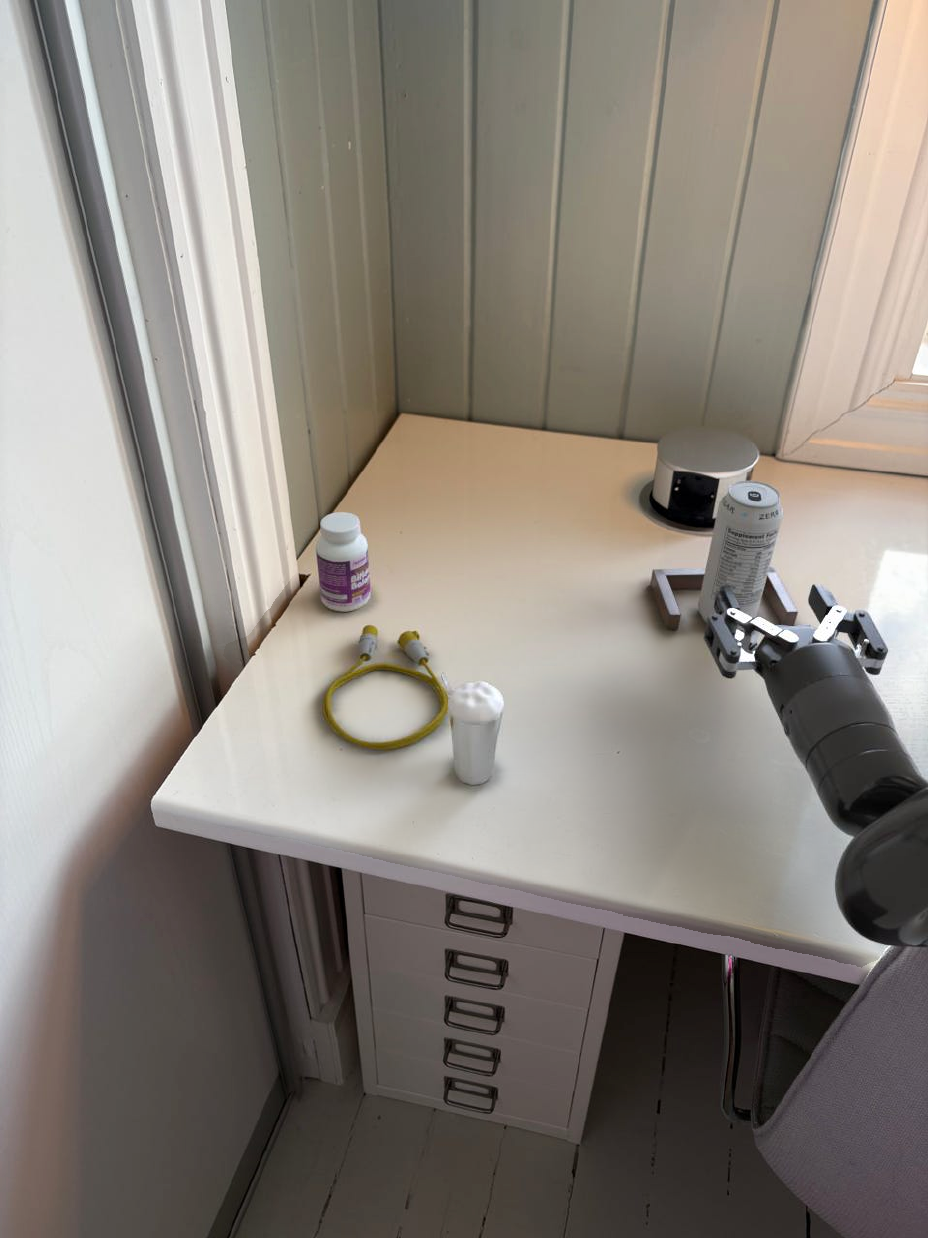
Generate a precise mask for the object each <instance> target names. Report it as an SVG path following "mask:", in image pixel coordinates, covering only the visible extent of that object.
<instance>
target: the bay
mask: <svg viewBox="0 0 928 1238" xmlns="http://www.w3.org/2000/svg"><path fill="white" fill-rule="evenodd" d="M705 569H706V567H704V568H664V569H661V568H660V569H652V572H651V578H650V584H649V585H650V587H651V590H652V592H653V595H654V598H655V600H656V604H657V607H658V609H659V612H660V614H661V617H662V620H663V623H664V625H665V628H666V631H678V630H679V627H680V623H681V622H680V621H681V617H682V614H681V611H680V608H679V607H678V604H677V600H676V599H675V596H674V593H673V591H678V590H680V591H681V590H682V591H683V590H684V591H685V590H701V588H702V584H703V579H704V574H705ZM763 593H764V594H765V595H766V597H767V599H768V601H769V603H770V605H771V607H772V609H773V611H774V613H775V615H776V617H777V619H778V620H779V622H780V625H786V626H795V624H796V621H797V618H798V614H799V610H798V609H797V607H796V606H795V604H794V602H793V600H792V598H791V597H790V595H789V593H788V591H787V589H786V588H785V586H784V583H783V582H782V581H781V579H780V577H779V574H778V573H777V571H776V569H775V568H774V567H773V566H770V567H769V570H768V574H767V578H766V582H765V586H764V590H763Z"/></svg>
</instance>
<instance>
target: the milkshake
mask: <svg viewBox="0 0 928 1238" xmlns="http://www.w3.org/2000/svg"><path fill="white" fill-rule="evenodd" d="M440 677H441V679H442V682H443V684H444V687H445V690H446V692H447V694H448V698H449V699H448V716H449V717H448V718H449V723H450V724H449V725H450V731H451V733H450V734H451V743H452V752H453V753H452V754H453V755H452V756H453V765H454V773H455V775H456V776H457V778H458V779H459V781H460V782H462V783H464V784H468V785H470V786H475V785H477V786H478V785H483V784H485V783H486V782H487V781H489V780H491V778H492V777H493V770H494V764H495V757H496V750H497V743H498V737H499V732H500V728H501V724H502V718H503V713H504V709H505V708H504V707H505V701H504V698H503V695H502V693H501V692H500V691H499V689H498V688H496V687H495V686H493V685H490V683H489V684H488V683H487V682H486V681H483V680H477V681H474V682H465V683H463V684H461V685H458V686H457V687H456V688H455V689H454V690H453V691H452V688H451V686H450V684H449V682H448V680H447V677H446V675H445V672H442V673H441V674H440Z"/></svg>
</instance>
